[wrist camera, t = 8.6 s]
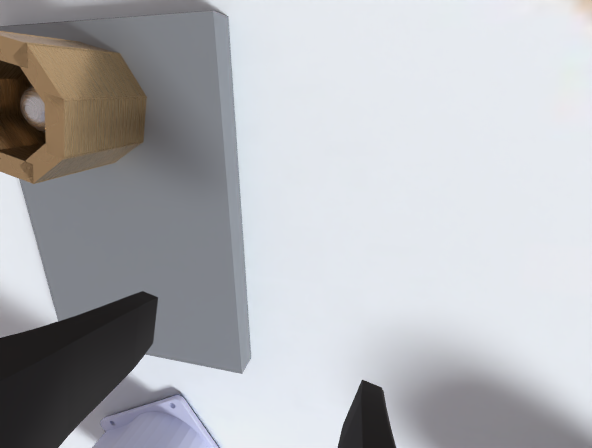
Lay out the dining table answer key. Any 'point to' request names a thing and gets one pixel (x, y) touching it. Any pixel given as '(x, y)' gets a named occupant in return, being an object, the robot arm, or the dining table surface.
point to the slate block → (157, 194)
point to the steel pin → (33, 109)
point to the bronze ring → (66, 107)
